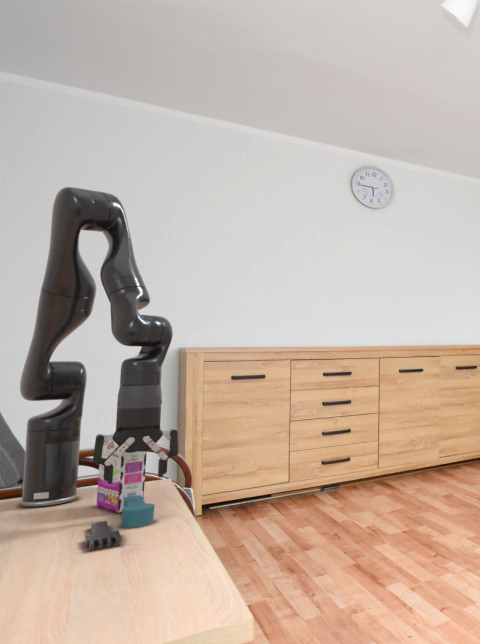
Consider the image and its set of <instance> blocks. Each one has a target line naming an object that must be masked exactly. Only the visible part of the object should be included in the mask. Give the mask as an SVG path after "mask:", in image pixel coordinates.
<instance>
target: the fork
mask: <svg viewBox="0 0 480 644" xmlns="http://www.w3.org/2000/svg"><path fill="white" fill-rule="evenodd" d="M90 531H91V534H87V535H85V537H84V538H85V539H84V543H85V547H86V548H88V551H89V552H93V551H94V550H95V546H96V547H97V549H98V550H103V548H104V545H105V547H106V549H111V548H112V544H114V546H115V547H116V548H117V547H121V546H120V545H121V533H120V531H119V530H111V529H110V526H109V523H108V521H107V520H104V521H97V522H91V523H90Z"/></svg>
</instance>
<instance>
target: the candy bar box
mask: <svg viewBox="0 0 480 644" xmlns="http://www.w3.org/2000/svg"><path fill="white" fill-rule="evenodd" d="M117 446H118V445H117V444H116V443H115V442H114V441H113V439H112V440H110V441H109V442H108V444H106V445H103V451H102V458H107V457H108V456H109V455H110V454H111V453H112V451H113V450H114V449H115V448H116V447H117ZM147 452H148V451H144V452H141V451H137V452H133V453H128V452H125V451H124V452H123V453H122V454H121V455H120V456H119V457H118V458H117V459H116V460H115V461H114V462H113V463H112V464H113V482H112V483H110V484H108V482H107V481H105V480H104V478H103V477H104V466H103V465H101V464H98V466H99V467H98V476H97V477H98V478H97V493H96V494H97V495H96V507H97V508H101V509H104V510H106V511H111V512H113V513H118V514H122V509H123V508H124V498H125V497H131V496H139V495H141V497H142V498H143V500H145V499H144V498H145V483H146V481H145V480H146V467H147Z"/></svg>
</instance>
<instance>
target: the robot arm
mask: <svg viewBox="0 0 480 644" xmlns="http://www.w3.org/2000/svg"><path fill="white" fill-rule="evenodd" d="M81 231H88V232H98V233H102V234H103V236H104V237H105V239H106V241H107V245H108V249H107V253H106V255H105V257H104V260H103V262H102V264H101V268H100V273H99V276H100V283H101V285H102V287H103V290H104V292H105V294H106V297H107V299H108V302H109V304H110V330H111V333H112V337H113V338H114V339H115V340H116V341H117V342H118V343H119V344H121V345H122V346H125V347H140V350H139V352H138V354H137V355H135V356H132V357H129V358H126V359H124V360H122V362H121V366H120V375H119V389H118V393H117V402H116V421H115V431H114V433H113V434H102V433H99V434H96V435H95V440H94V447H93V455H92V462H93V464H95V465H99V464H101V465H103V466H104V477H103V478H104V480H105V481H107V482H108V484H110V483H112V482H113V464H112V463H113V462H114V461H115V460H116V459H117V458H118V457H119V456H120V455H121V454H122V453H123V452H124V451H125V452H128V453H133V452H137V451H141V452H144V451H147V452H148V451H150V450H152V451H153V452H154V453H155V454H156V455H157V456H158V457H159V459H158V464H157V465H158V466H157V477H158V478H164V475H167V472H168V461H169V459H170V458H173V457H176V456H178V455H179V437H178V436H179V434H178V432H179V431H178V430H177V429H176V428H170V429H168V430H167V429H166V430H162V429H161V418H162V417H161V416H162V403H163V395H162V394H163V392H162V371H163V370H162V369H163V364H164V362H165V359H166V357H167V354H168V351H169V348H170V346H171V343H172V340H173V334H174V330H173V327H172V324H171V322H170V321H169V320H168V319H167V318H166V317H164V316H161V315H149V314H148V315H147V314H140V312H139V311H140V310H142V309H144V308H146V307H147V306H149V304H150V302H151V296H150V294H149V291H148V288H147V286H146V283H145V282H144V280H143V277H142V275H141V273H140V269H139V267H138V264H137V261H136V256H135V253H134V246H133V242H132V237H131V233H130V228H129V223H128V219H127V215H126V211H125V207H124V206H123V204H122V202H121V200H120V199H119V198H118V197H117V196H116V195H114V194H112V193H110V192H105V191H104V192H103V191H98V190H93V189H85V188H80V187H79V188H78V187H75V186H74V187H72V186H65V187H63V188H61V189H59V191H58V192H57V193H56V195H55V198H54V201H53V205H52V211H51V225H50V235H49V236H50V238H49V250H48V255H47V260H46V266H45V271H44V276H43V280H42V284H41V287H40V293H39V297H38V304H37V311H36V316H35V317H36V318H35V323H34V328H33V333H32V339H31V340H30V341H31V342H30V345H29V348H28V351H27V355H26V358H25V361H24V365H23V368H22V371H21V376H20V382H19V392H20V396H21V397H22V398H23V399H24V400H26V401H29V402H40V401H41V402H42V401H43V402H45V401H60V400H61V402H60V404H58V405H57V406H56V407H54V408H53V409H51V410H48V411H46V412H43V413H40V414H37V415H33V416H31V417H30V418H29V419H28V420H27V423H26V433H25V434H26V436H25V450H24V451H25V452H24V465H23V466H24V467H23V477H21V478H19V479H18V480H17V482H16V484H17V485H20V484H22V491H21V492H22V493H21V500H20V506H22V507H25V508H37V507H48V506H55V505H61V504H66V503H69V502H72V501H75V500H76V499H78V492H77V490H78V478H79V477H78V476H79V462H80V446H81V432H82V431H81V429H82V418H83V413H84V401H85V394H86V388H87V381H88V380H87V379H88V378H87V374H88V373H87V368H86V366H85V364H84V363H82V362H81V361H77V360H75V361H74V360H60V361H59V360H58V361H57V360H51V358H52V356H53V354H54V353H55V350H56V349H57V348H58V347H59V346H60V344H61V343H62V342H63V341H64V340H65V339H66V338H68V337H69V336H70V335H71V334H72V333H73V332H75V331H76V330H77V329H78V328H79V327H81V326H82V325H83V324H84V323H85V322H86V321H87V320H88V319H89V317H90V316H91V315H92V313H93V309H94V304H95V300H96V295H97V283H96V280H95V278H94V276H93V275H92V273H91V271H90V269H89V267H88V266H87V264H86V263H85V261H84V259H83V257H82V255H81V252H80V235H81ZM162 437H165V439H166V440H167V441H168V440H169V451H166V452H165V451H164V450H163V449H162V448H161V447H160V446H159V445H158V444H157V443H158V442H159V441H160V440H161V438H162ZM112 439H113V441H114V442H115V443H116V444H117V445H118V446H117V447H116V448H115V449H114V450H113V451H112V453H111V454H110V455H109V456H108V457H107V458H102V451H103V445H106V444H108V442H109V441H110V440H112Z"/></svg>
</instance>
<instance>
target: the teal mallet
mask: <svg viewBox="0 0 480 644" xmlns="http://www.w3.org/2000/svg"><path fill="white" fill-rule="evenodd" d="M154 517H155V504H154V503H149V502H148V503H146V502H145V499H143V498H142V497H141V495H139V496H131V497H125V498H124V508H123V509H122V513H121V525H120V526H121V528H122V529H123V528H124V529H133V528H134V529H135V528H141V527H146V526H149V525H151V524H153V523H154V521H155V520H154V519H155V518H154Z"/></svg>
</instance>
